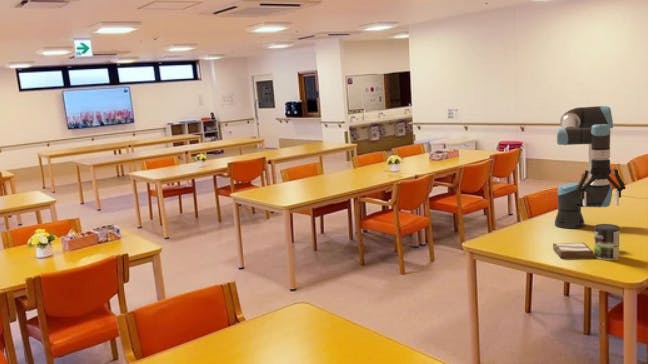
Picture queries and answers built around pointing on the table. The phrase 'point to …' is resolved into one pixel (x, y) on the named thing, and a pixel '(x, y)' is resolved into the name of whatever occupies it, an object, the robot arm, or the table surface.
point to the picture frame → (572, 250)
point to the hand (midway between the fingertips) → (600, 205)
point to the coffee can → (606, 241)
